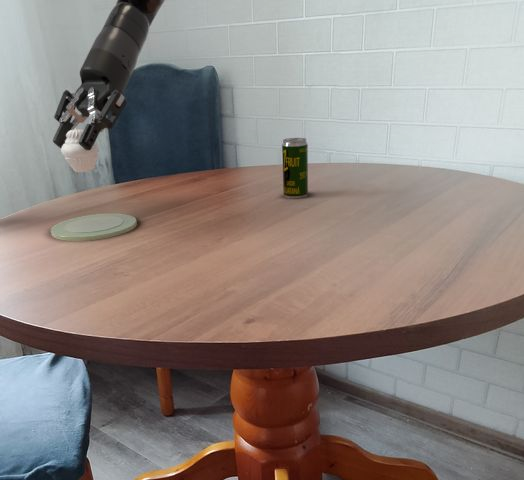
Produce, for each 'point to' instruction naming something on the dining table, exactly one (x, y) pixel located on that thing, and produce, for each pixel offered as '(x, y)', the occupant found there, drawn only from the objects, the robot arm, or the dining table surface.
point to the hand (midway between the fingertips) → (71, 146)
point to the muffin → (79, 152)
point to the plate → (93, 227)
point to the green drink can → (295, 167)
